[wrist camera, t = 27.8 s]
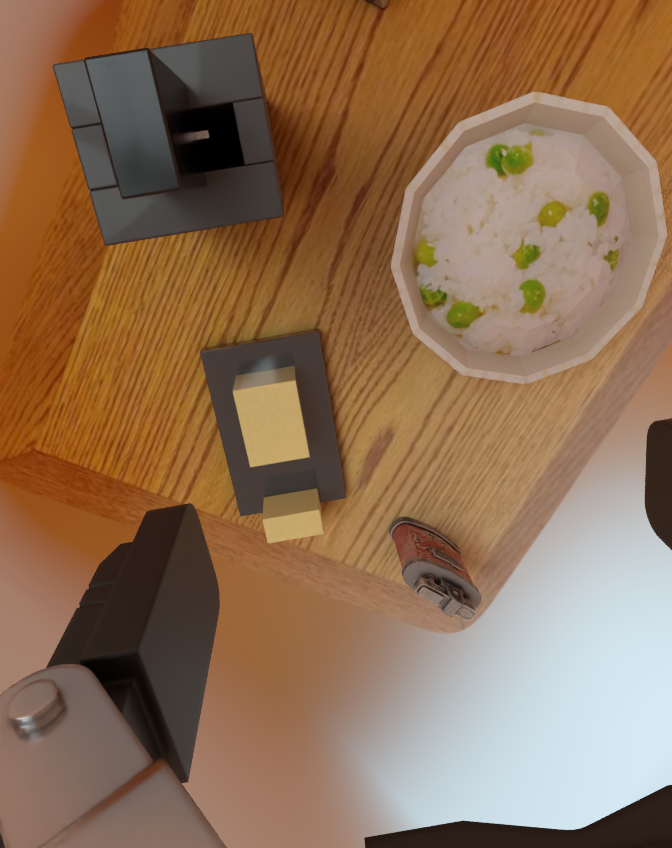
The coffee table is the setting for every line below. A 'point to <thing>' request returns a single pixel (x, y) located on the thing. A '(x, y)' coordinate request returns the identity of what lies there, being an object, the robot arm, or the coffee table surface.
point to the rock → (379, 2)
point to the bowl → (529, 238)
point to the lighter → (434, 568)
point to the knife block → (211, 110)
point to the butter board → (315, 415)
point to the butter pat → (292, 516)
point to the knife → (148, 124)
